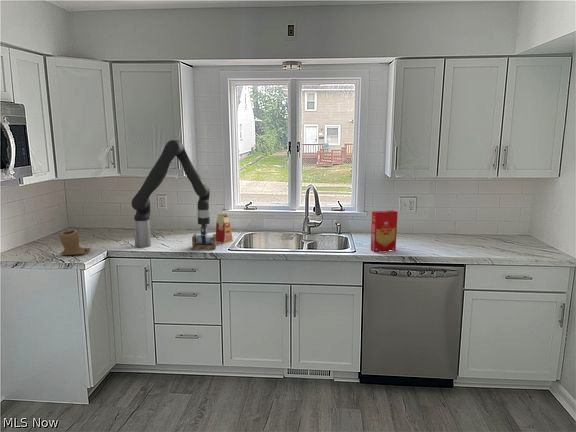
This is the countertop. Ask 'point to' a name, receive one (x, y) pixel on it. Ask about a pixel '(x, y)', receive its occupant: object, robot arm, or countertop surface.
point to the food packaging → (383, 230)
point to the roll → (208, 239)
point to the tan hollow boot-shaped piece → (72, 243)
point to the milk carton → (223, 229)
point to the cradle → (203, 246)
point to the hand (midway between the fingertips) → (204, 242)
